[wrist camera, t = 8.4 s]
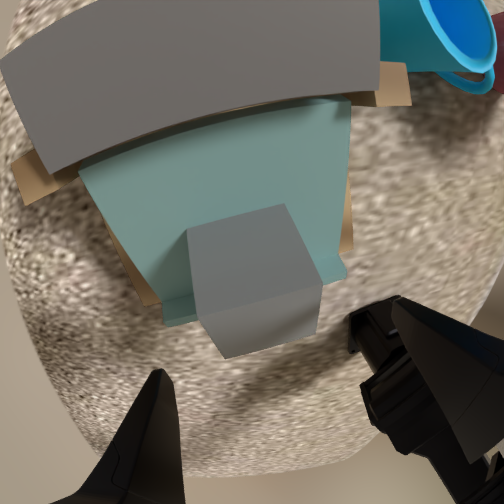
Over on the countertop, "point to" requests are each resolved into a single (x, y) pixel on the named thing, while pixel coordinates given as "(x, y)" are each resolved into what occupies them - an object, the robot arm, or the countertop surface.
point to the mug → (440, 39)
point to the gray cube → (253, 281)
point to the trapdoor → (205, 129)
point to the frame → (41, 183)
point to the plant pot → (499, 52)
